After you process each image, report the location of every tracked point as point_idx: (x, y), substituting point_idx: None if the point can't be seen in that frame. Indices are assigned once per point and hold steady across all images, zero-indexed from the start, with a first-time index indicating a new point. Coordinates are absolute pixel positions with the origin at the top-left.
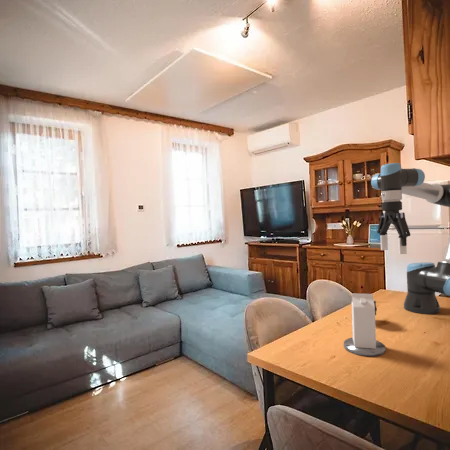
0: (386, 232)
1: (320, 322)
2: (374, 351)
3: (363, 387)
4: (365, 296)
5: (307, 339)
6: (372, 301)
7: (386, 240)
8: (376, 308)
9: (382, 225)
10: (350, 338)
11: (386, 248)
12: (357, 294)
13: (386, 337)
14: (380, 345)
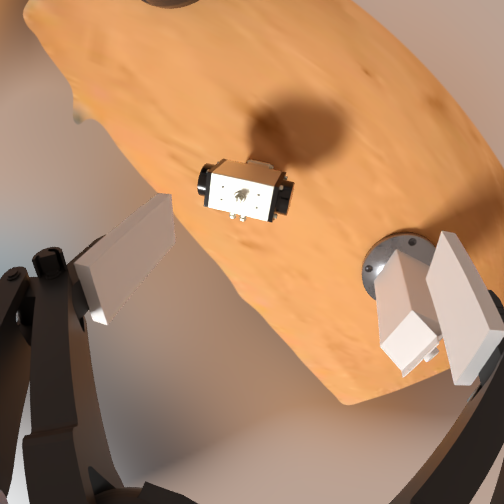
0: (69, 293)
1: (237, 278)
2: None
3: None
4: (424, 350)
5: (324, 337)
6: (442, 335)
7: (127, 245)
8: (293, 185)
9: (11, 375)
10: (365, 280)
11: (165, 209)
12: (412, 367)
13: (372, 190)
14: (420, 246)
